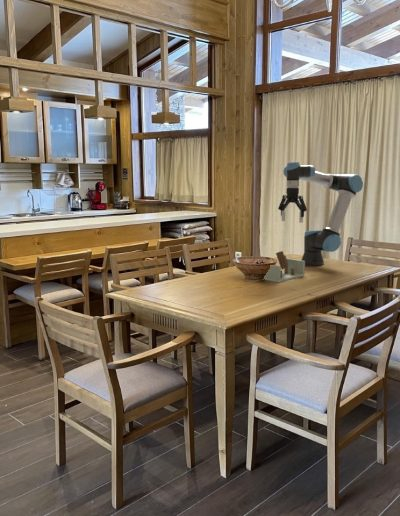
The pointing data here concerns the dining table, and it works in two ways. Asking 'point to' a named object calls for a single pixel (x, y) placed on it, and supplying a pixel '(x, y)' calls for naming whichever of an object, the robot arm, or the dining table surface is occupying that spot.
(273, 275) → the peg stand
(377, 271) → the dining table surface
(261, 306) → the dining table surface
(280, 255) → the wooden block set
